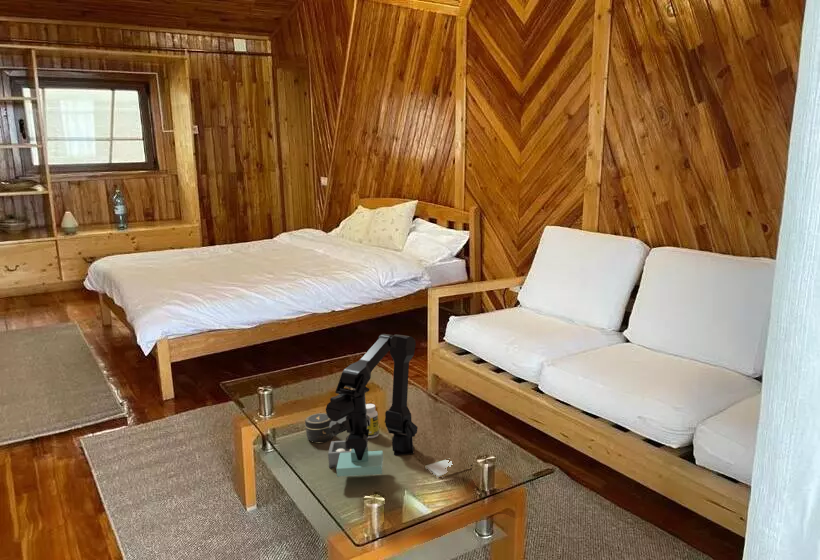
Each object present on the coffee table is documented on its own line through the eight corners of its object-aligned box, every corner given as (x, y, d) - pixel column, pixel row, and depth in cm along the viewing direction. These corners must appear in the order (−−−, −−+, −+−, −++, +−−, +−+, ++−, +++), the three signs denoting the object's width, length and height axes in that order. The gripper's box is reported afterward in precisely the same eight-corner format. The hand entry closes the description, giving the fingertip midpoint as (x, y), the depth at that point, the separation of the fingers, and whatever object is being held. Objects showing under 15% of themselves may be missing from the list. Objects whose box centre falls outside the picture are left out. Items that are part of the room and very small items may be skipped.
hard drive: (458, 455, 199) (425, 464, 193) (472, 464, 192) (438, 475, 186) (458, 459, 199) (425, 469, 193) (472, 469, 192) (438, 480, 186)
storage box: (368, 453, 206) (367, 439, 205) (366, 465, 197) (365, 451, 196) (332, 455, 206) (331, 441, 205) (329, 467, 197) (328, 453, 196)
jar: (312, 446, 213) (310, 425, 212) (302, 436, 222) (300, 416, 221) (338, 439, 218) (337, 419, 217) (328, 429, 227) (326, 410, 225)
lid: (383, 457, 193) (381, 441, 192) (381, 473, 183) (380, 456, 182) (340, 460, 193) (339, 443, 192) (337, 476, 183) (335, 459, 182)
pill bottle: (376, 439, 216) (374, 409, 215) (359, 438, 218) (357, 409, 216) (381, 431, 222) (379, 403, 220) (364, 431, 224) (362, 402, 222)
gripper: (333, 399, 194) (337, 445, 197) (326, 423, 175) (330, 473, 178) (368, 397, 194) (371, 443, 197) (364, 421, 175) (368, 471, 178)
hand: (360, 457), depth 187 cm, fingers closed on lid, 3 cm apart
